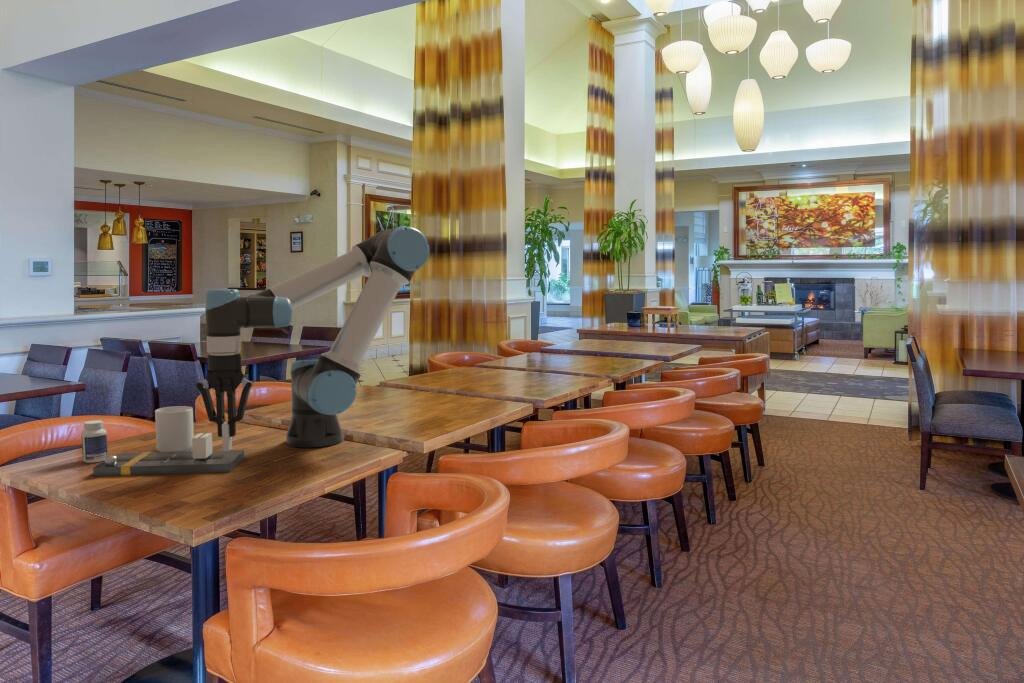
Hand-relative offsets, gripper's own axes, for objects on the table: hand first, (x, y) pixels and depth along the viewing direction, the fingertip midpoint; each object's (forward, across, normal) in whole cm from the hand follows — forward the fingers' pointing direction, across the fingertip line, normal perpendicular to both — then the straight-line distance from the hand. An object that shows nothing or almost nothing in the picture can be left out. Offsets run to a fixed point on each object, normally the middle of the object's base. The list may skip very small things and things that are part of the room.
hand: (227, 449), depth 167 cm
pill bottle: (+4, +34, -8) cm, 35 cm away
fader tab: (+1, +6, 0) cm, 6 cm away
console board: (+4, +13, 0) cm, 13 cm away
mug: (+4, +18, -17) cm, 25 cm away
